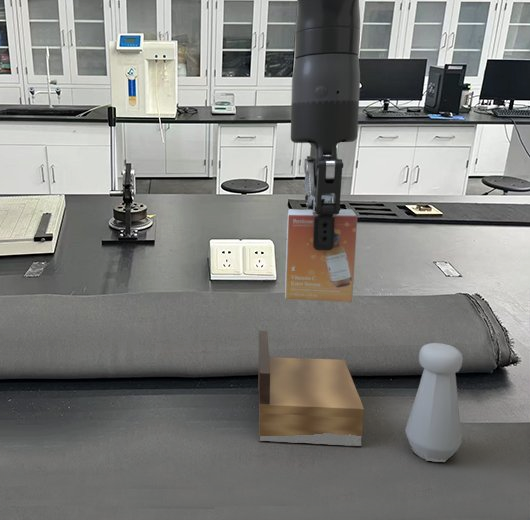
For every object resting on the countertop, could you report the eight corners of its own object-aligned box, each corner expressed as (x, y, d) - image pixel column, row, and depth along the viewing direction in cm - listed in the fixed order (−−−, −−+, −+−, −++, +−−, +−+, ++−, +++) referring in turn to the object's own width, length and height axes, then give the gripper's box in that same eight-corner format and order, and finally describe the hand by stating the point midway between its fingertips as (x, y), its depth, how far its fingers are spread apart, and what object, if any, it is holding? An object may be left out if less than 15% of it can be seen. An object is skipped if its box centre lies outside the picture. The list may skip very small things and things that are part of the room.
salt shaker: (466, 470, 58) (479, 359, 55) (410, 466, 59) (420, 356, 56) (450, 441, 63) (460, 338, 60) (399, 437, 64) (407, 336, 61)
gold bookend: (342, 392, 76) (345, 332, 74) (361, 447, 62) (366, 376, 60) (258, 388, 77) (258, 330, 75) (258, 442, 64) (259, 372, 62)
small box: (284, 300, 64) (286, 214, 62) (285, 288, 69) (286, 208, 67) (353, 303, 63) (358, 214, 60) (349, 290, 68) (353, 208, 65)
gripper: (372, 94, 53) (363, 257, 57) (347, 102, 67) (341, 233, 71) (296, 96, 54) (292, 257, 58) (287, 104, 68) (284, 233, 72)
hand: (319, 243), depth 65 cm, fingers closed on small box, 5 cm apart
